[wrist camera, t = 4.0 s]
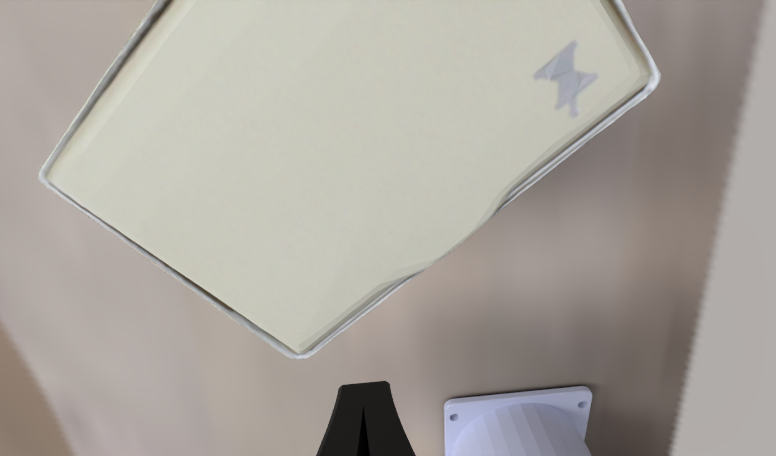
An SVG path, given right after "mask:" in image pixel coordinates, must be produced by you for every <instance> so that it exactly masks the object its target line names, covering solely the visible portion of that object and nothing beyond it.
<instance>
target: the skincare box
mask: <svg viewBox="0 0 776 456" xmlns="http://www.w3.org/2000/svg"><path fill="white" fill-rule="evenodd" d="M660 79H661V74H660V71H659V69H658V67H657V66H656V64H655V62H654V61H653V59H652V57H651V55H650V53H649V51H648V49H647V48H646V46H645V45H644V43H643V41H642V40H641V38H640V36H639V34H638V32H637V30H636V28H635V26H634V24H633V21H632V19H631V17H630V15H629V13H628V11H627V10H626V8H625V6H624V4H623V3H622V1H621V0H156V1H155V3H154V4H153V5H152V7H151V8H150V10H149V11H148V12H147V14H146V15H145V17H144V18H143V19H142V21H141V22H140V24H139V25H138V26H137V28H136V29H135V31H134V32H133V33H132V35H131V36H130V38H129V39H128V41H127V42H126V44H125V45H124V47H123V48H122V49H121V51H120V52H119V54H118V55H117V56H116V58H115V59H114V61H113V62H112V63H111V65H110V66H109V68H108V69H107V71H106V72H105V73H104V75H103V76H102V78H101V79H100V80H99V82H98V84H97V85H96V87H95V88H94V90H93V91H92V93H91V95H90V96H89V98H88V99H87V101H86V102H85V104H84V105H83V107H82V108H81V109H80V110H79V112H78V113H77V114H76V116H75V117H74V119H73V121H72V122H71V124H70V125H69V127H68V129H67V130H66V132H65V133H64V135H63V136H62V138H61V139H60V141H59V142H58V144H57V145H56V147H55V148H54V150H53V151H52V153H51V154H50V156H49V157H48V159H47V160H46V162H45V163H44V165H43V166H42V167H41V169H40V170H39V180H40V181H41V183H42V184H43V185H44V186H45V187H47V188H48V189H49V190H51V191H52V192H53V193H54V194H56V195H57V196H59V197H60V198H62V199H63V200H64V201H66V202H67V203H69V204H70V205H72V206H73V207H75V208H76V209H78V210H79V211H81V212H82V213H84V214H85V215H87V216H88V217H90V218H91V219H92V220H94V221H95V222H97V223H98V224H99V225H101V226H102V227H103V228H105V229H106V230H107V231H109V232H110V233H111V234H113V235H114V236H115V237H117V238H118V239H119V240H121V241H122V242H123V243H125V244H126V245H128V246H129V247H131V248H132V249H134V250H135V251H137V252H138V253H139V254H141V255H142V256H143V257H145V258H146V259H148V260H149V261H151V262H152V263H153V264H155V265H156V266H157V267H159V268H160V269H161V270H162V271H164V272H165V273H166V274H168V275H169V276H171V277H173V278H174V279H175V280H177V281H178V282H180V283H181V284H183V285H184V286H186V287H187V288H189V289H190V290H192V291H193V292H195V293H196V294H198V295H199V296H201V297H202V298H203V299H205V300H206V301H207V302H209V303H210V304H211V305H213V306H214V307H215V308H217V309H218V310H220V311H222V312H223V313H224V314H226V315H227V316H228V317H230V318H231V319H232V320H234V321H235V322H237V323H238V324H240V325H241V326H243V327H244V328H246V329H247V330H249V331H250V332H252V333H253V334H255V335H256V336H258V337H259V338H260V339H262V340H263V341H265V342H266V343H268V344H269V345H270V346H272V347H273V348H275V349H276V350H278V351H279V352H281V353H282V354H283V355H285V356H286V357H288V358H291V359H304V358H309V357H310V356H312V355H313V354H314V353H316V352H317V351H318V350H320V349H321V348H322V347H323V346H325V345H326V344H327V343H328V342H330V341H331V340H332V339H334V338H335V337H336V336H338V335H339V334H340V333H342V332H343V331H344V330H346V329H347V328H348V327H350V326H351V325H352V324H353V323H355V322H356V321H357V320H359V319H360V318H361V317H363V316H364V315H365V314H366V313H368V312H369V311H370V310H372V309H373V308H374V307H376V306H377V305H379V304H380V303H381V302H382V301H384V300H385V299H386V298H387V297H389V296H390V295H391V294H392V293H394V292H395V291H396V290H398V289H399V288H400V287H401V286H403V285H404V284H405V283H407V282H408V281H410V280H411V279H413V278H414V277H415V276H417V275H418V274H420V273H421V272H422V271H423V270H425V269H426V268H428V267H429V266H430V265H432V264H433V263H435V262H437V261H438V260H440V259H441V258H443V257H444V256H445V255H447V254H448V253H449V252H451V251H452V250H453V249H455V248H456V247H457V246H459V245H460V244H461V243H463V242H464V241H465V240H466V239H467V238H468V237H469V236H471V235H472V234H473V233H474V232H475V231H476V230H478V229H479V228H480V227H481V226H482V225H483V224H485V223H486V222H487V221H488V220H489V219H490V218H491V217H493V216H494V215H495V214H496V213H497V212H498V211H500V210H501V209H502V208H503V207H505V206H506V205H507V204H508V203H510V202H511V201H512V200H514V199H515V198H516V197H517V196H519V195H520V194H521V193H523V192H524V191H525V190H527V189H528V188H529V187H531V186H532V185H533V184H534V183H536V182H537V181H538V180H540V179H541V178H542V177H544V176H545V175H546V174H547V173H549V172H550V171H551V170H552V169H554V168H555V167H556V166H557V165H558V164H560V163H561V162H562V161H563V160H565V159H566V158H567V157H569V156H570V155H571V154H572V153H574V152H575V151H576V150H578V149H579V148H580V147H582V146H583V145H584V144H586V143H587V142H588V141H590V140H591V139H592V138H593V137H595V136H596V135H597V134H599V133H600V132H601V131H603V130H604V129H605V128H606V127H608V126H609V125H610V124H612V123H613V122H614V121H615V120H616V119H618V118H619V117H620V116H621V115H623V114H624V113H625V112H626V111H628V110H629V109H630V108H632V107H633V106H635V105H636V104H638V103H639V102H641V101H642V100H644V99H645V98H646V97H648V96H649V95H650V94H651V93H652V92H653V91H654V90H655V89H656V88H657V87H658V86H659V83H660Z"/></svg>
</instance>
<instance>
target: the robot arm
mask: <svg viewBox="0 0 776 456" xmlns="http://www.w3.org/2000/svg"><path fill="white" fill-rule="evenodd" d="M591 402H592V393H591V391H590V389H589V388H588V387H586V386H577V387H567V388H557V389H547V390H537V391H527V392H517V393H507V394H496V395H486V396H476V397H466V398H456V399H450V400H448V401H447V402H446V403H445V404H444V444H445V456H592V455H591V453H590V451H589V449H588V447H587V446H586V444H585V442H584V440H585V435H586V429H587V424H588V418H589V413H590V407H591ZM453 414H455V415H453ZM316 456H416V455H415V453H414V451H413V449H412V447H411V445H410V443H409V440H408V438H407V436H406V434H405V432H404V429H403V427H402V424H401V422H400V419H399V417H398V414H397V411H396V408H395V405H394V402H393V398H392V394H391V390H390V384H389V383H388V382H386V381H379V382H369V383H359V384H349V385H342V386H341V387H340V388H339V390H338V395H337V399H336V403H335V406H334V409H333V413H332V416H331V419H330V421H329V424H328V427H327V430H326V432H325V435H324V437H323V440H322V442H321V445H320V447H319V450H318V452H317V455H316Z"/></svg>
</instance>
